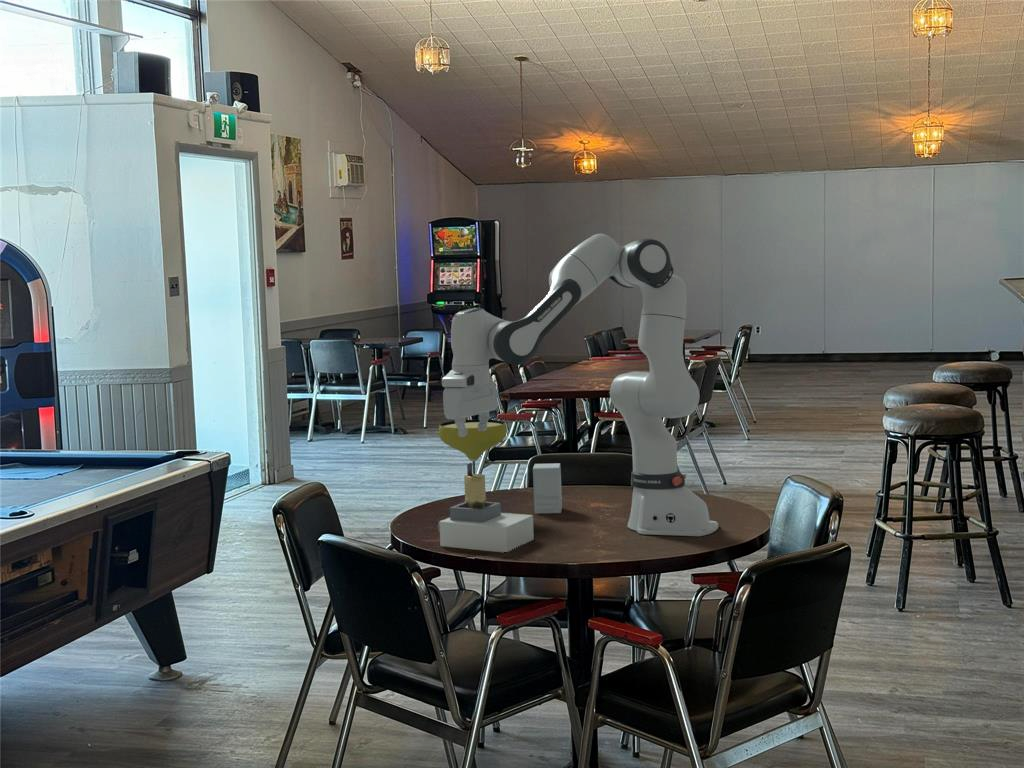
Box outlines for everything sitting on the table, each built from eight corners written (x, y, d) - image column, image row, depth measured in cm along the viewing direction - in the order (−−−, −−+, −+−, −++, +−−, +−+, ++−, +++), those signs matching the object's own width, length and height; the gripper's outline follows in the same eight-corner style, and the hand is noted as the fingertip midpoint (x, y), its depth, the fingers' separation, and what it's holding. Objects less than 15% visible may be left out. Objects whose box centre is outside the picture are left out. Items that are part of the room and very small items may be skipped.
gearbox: (533, 539, 271) (532, 503, 270) (506, 552, 258) (505, 514, 258) (455, 532, 281) (454, 497, 280) (426, 544, 269) (424, 508, 268)
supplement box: (562, 508, 307) (561, 462, 305) (561, 513, 299) (559, 467, 298) (535, 508, 307) (534, 463, 306) (533, 514, 300) (532, 467, 299)
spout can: (489, 515, 271) (488, 462, 269) (479, 519, 266) (478, 465, 265) (472, 513, 273) (470, 461, 272) (461, 517, 269) (460, 464, 267)
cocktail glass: (521, 516, 297) (518, 423, 294) (460, 526, 288) (457, 430, 285) (489, 505, 312) (486, 417, 310) (430, 514, 304) (427, 423, 301)
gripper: (480, 372, 277) (482, 427, 278) (437, 380, 259) (440, 439, 260) (502, 372, 274) (504, 428, 275) (461, 380, 256) (463, 440, 257)
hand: (473, 433), depth 268 cm, fingers open, 8 cm apart
